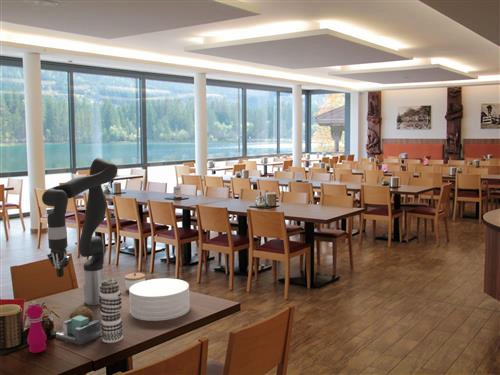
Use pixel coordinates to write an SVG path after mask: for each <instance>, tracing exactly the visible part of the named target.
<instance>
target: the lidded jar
mask: <svg viewBox="0 0 500 375" xmlns="http://www.w3.org/2000/svg"><path fill="white" fill-rule="evenodd" d="M142 281H146V274H145V273H142V272H135V271H134V272H132V273H128V274H125V276H124V282H125V286H126V289H128V290H129V288H130V287H131V286H132V285H134V284H136V283H139V282H142Z"/></svg>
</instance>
